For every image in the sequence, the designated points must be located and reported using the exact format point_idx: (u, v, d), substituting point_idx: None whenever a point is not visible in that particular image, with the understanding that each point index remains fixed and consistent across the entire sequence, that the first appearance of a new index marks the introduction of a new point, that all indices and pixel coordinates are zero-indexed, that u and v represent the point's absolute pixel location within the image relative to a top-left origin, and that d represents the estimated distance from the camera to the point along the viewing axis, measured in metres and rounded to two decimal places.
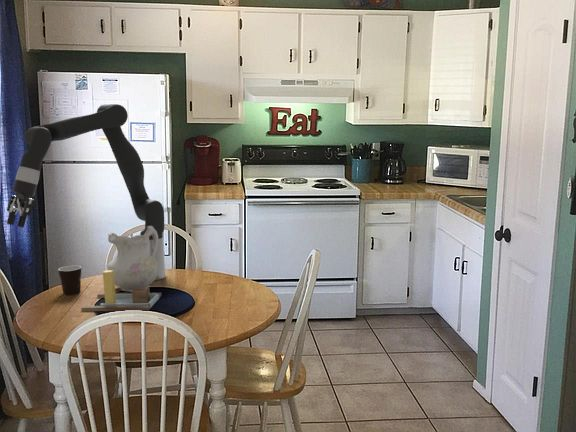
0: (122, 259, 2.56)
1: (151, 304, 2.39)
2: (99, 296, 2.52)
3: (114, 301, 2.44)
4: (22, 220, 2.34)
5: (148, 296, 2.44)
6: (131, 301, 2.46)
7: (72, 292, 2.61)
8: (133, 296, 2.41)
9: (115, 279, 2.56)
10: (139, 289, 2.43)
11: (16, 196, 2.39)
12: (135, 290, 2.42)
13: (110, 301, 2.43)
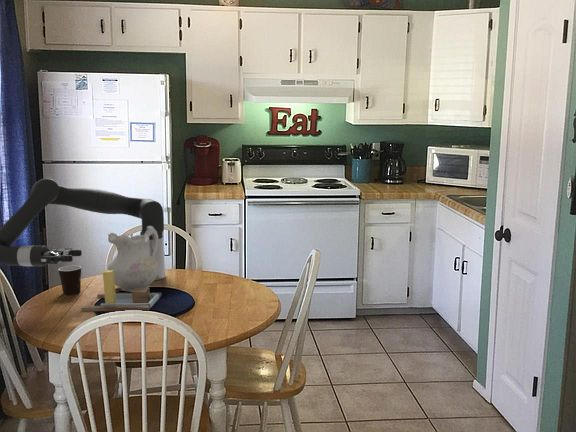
0: (122, 259, 2.56)
1: (151, 304, 2.39)
2: (99, 296, 2.52)
3: (114, 301, 2.44)
4: (64, 259, 2.37)
5: (148, 296, 2.44)
6: (131, 301, 2.46)
7: (72, 292, 2.61)
8: (133, 296, 2.41)
9: (115, 279, 2.56)
10: (139, 289, 2.43)
11: None
12: (135, 290, 2.42)
13: (110, 301, 2.43)
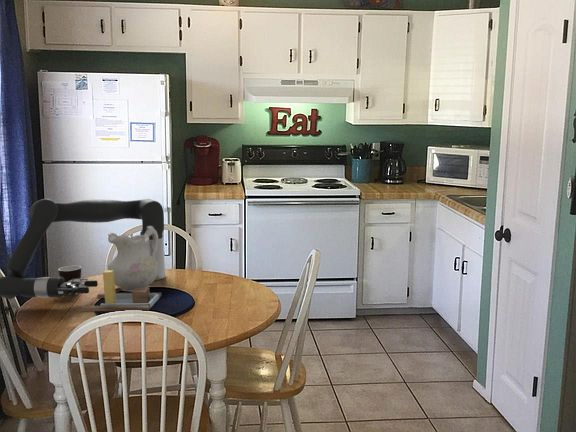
0: (122, 259, 2.56)
1: (151, 304, 2.39)
2: (99, 296, 2.52)
3: (114, 301, 2.44)
4: (81, 291, 2.39)
5: (148, 296, 2.44)
6: (131, 301, 2.46)
7: None
8: (133, 296, 2.41)
9: (115, 279, 2.56)
10: (139, 289, 2.43)
11: None
12: (135, 290, 2.42)
13: (110, 301, 2.43)
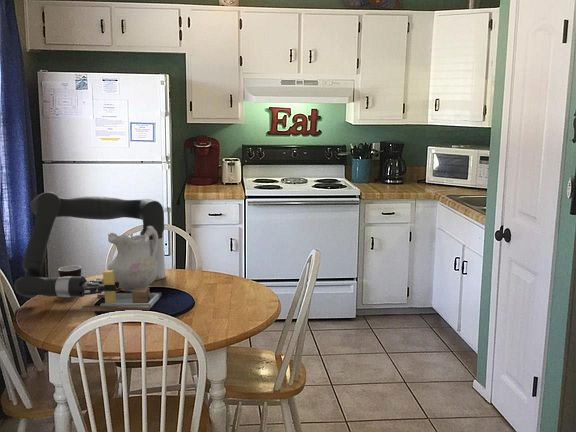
0: (122, 259, 2.56)
1: (151, 304, 2.39)
2: (99, 296, 2.52)
3: (114, 301, 2.44)
4: (108, 289, 2.41)
5: (148, 296, 2.44)
6: (131, 301, 2.46)
7: None
8: (133, 296, 2.41)
9: (115, 279, 2.56)
10: (139, 289, 2.43)
11: None
12: (135, 290, 2.42)
13: (110, 301, 2.43)
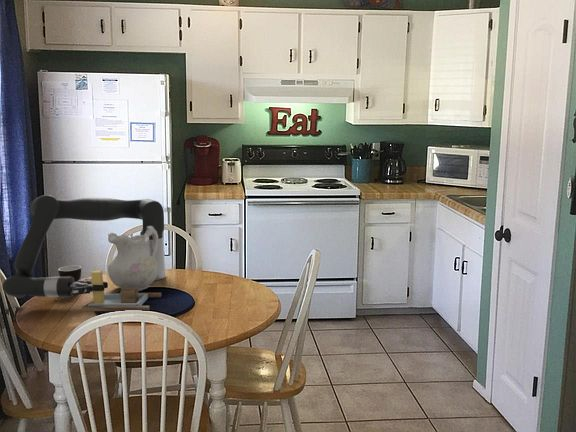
0: (122, 259, 2.56)
1: (139, 304, 2.39)
2: None
3: (102, 301, 2.45)
4: (96, 289, 2.41)
5: (137, 296, 2.45)
6: (120, 301, 2.46)
7: None
8: (122, 296, 2.41)
9: (115, 279, 2.56)
10: (127, 289, 2.43)
11: None
12: (123, 290, 2.42)
13: (98, 301, 2.43)
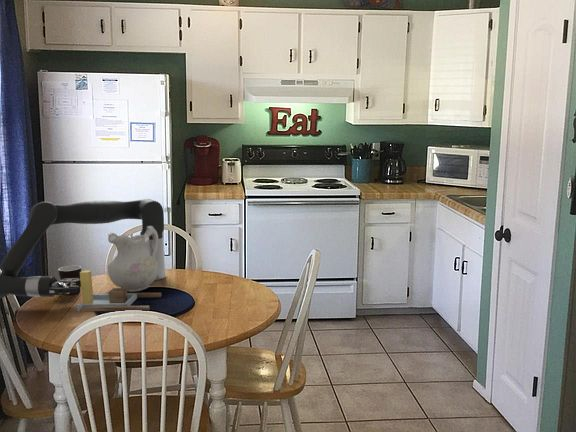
0: (122, 259, 2.56)
1: (128, 304, 2.39)
2: None
3: (91, 301, 2.45)
4: (72, 291, 2.39)
5: (126, 296, 2.45)
6: (108, 301, 2.47)
7: None
8: (110, 296, 2.42)
9: (115, 279, 2.56)
10: (116, 289, 2.44)
11: None
12: (112, 290, 2.43)
13: (87, 301, 2.44)
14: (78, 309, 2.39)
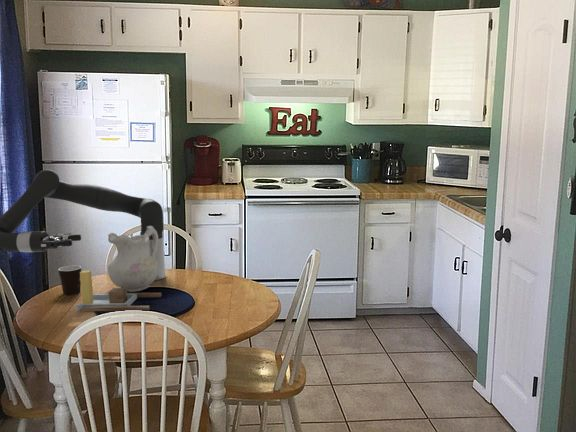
0: (122, 259, 2.56)
1: (128, 304, 2.39)
2: None
3: (91, 301, 2.45)
4: (64, 244, 2.37)
5: (126, 296, 2.45)
6: (108, 301, 2.47)
7: (72, 292, 2.61)
8: (110, 296, 2.42)
9: (115, 279, 2.56)
10: (116, 289, 2.44)
11: None
12: (112, 290, 2.43)
13: (87, 301, 2.44)
14: (78, 309, 2.39)
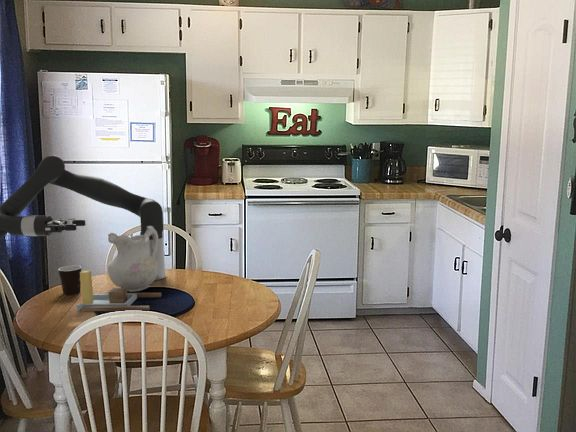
0: (122, 259, 2.56)
1: (128, 304, 2.39)
2: None
3: (91, 301, 2.45)
4: (68, 228, 2.37)
5: (126, 296, 2.45)
6: (108, 301, 2.47)
7: (72, 292, 2.61)
8: (110, 296, 2.42)
9: (115, 279, 2.56)
10: (116, 289, 2.44)
11: None
12: (112, 290, 2.43)
13: (87, 301, 2.44)
14: (78, 309, 2.39)
